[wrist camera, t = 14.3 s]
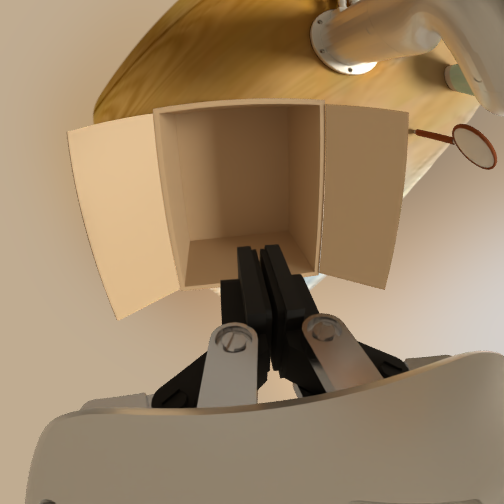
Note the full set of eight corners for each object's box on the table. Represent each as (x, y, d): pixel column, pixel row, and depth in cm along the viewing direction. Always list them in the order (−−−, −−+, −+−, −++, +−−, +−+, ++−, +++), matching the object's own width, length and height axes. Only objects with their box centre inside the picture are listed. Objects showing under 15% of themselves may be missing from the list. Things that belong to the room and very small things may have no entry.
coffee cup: (457, 104, 40) (499, 111, 29) (435, 78, 37) (478, 80, 26) (467, 78, 37) (507, 82, 26) (445, 52, 34) (487, 50, 23)
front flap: (152, 113, 24) (150, 114, 24) (67, 131, 19) (66, 132, 19) (179, 288, 34) (177, 287, 34) (117, 320, 28) (116, 318, 29)
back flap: (408, 112, 22) (408, 112, 22) (325, 104, 26) (327, 104, 26) (384, 289, 31) (385, 287, 32) (319, 272, 36) (320, 270, 36)
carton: (171, 111, 36) (152, 108, 24) (290, 103, 38) (324, 100, 26) (187, 242, 47) (180, 291, 34) (291, 232, 48) (318, 275, 36)
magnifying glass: (400, 117, 41) (483, 134, 23) (404, 112, 40) (488, 126, 23) (422, 150, 44) (500, 179, 27) (426, 144, 44) (504, 171, 26)
